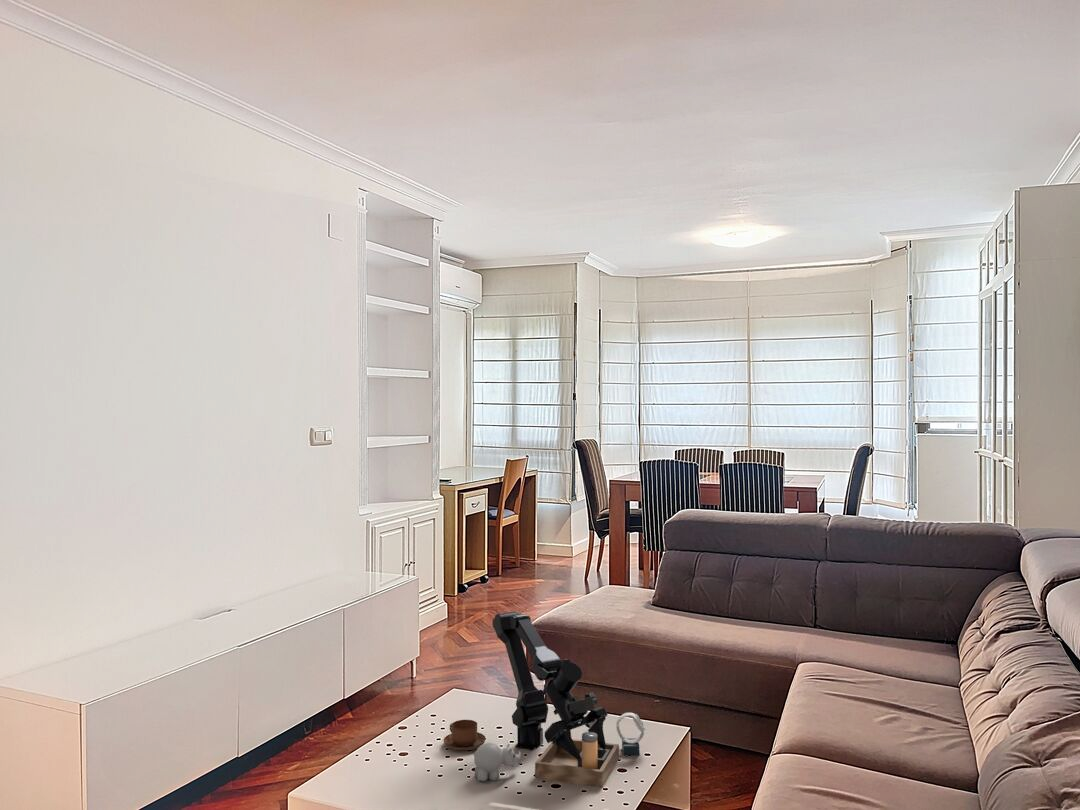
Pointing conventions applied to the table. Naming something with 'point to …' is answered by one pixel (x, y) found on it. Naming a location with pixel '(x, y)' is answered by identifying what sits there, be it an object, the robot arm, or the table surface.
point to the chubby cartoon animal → (493, 760)
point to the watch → (631, 744)
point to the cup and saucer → (464, 736)
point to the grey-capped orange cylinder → (589, 750)
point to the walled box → (576, 765)
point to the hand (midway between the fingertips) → (592, 754)
